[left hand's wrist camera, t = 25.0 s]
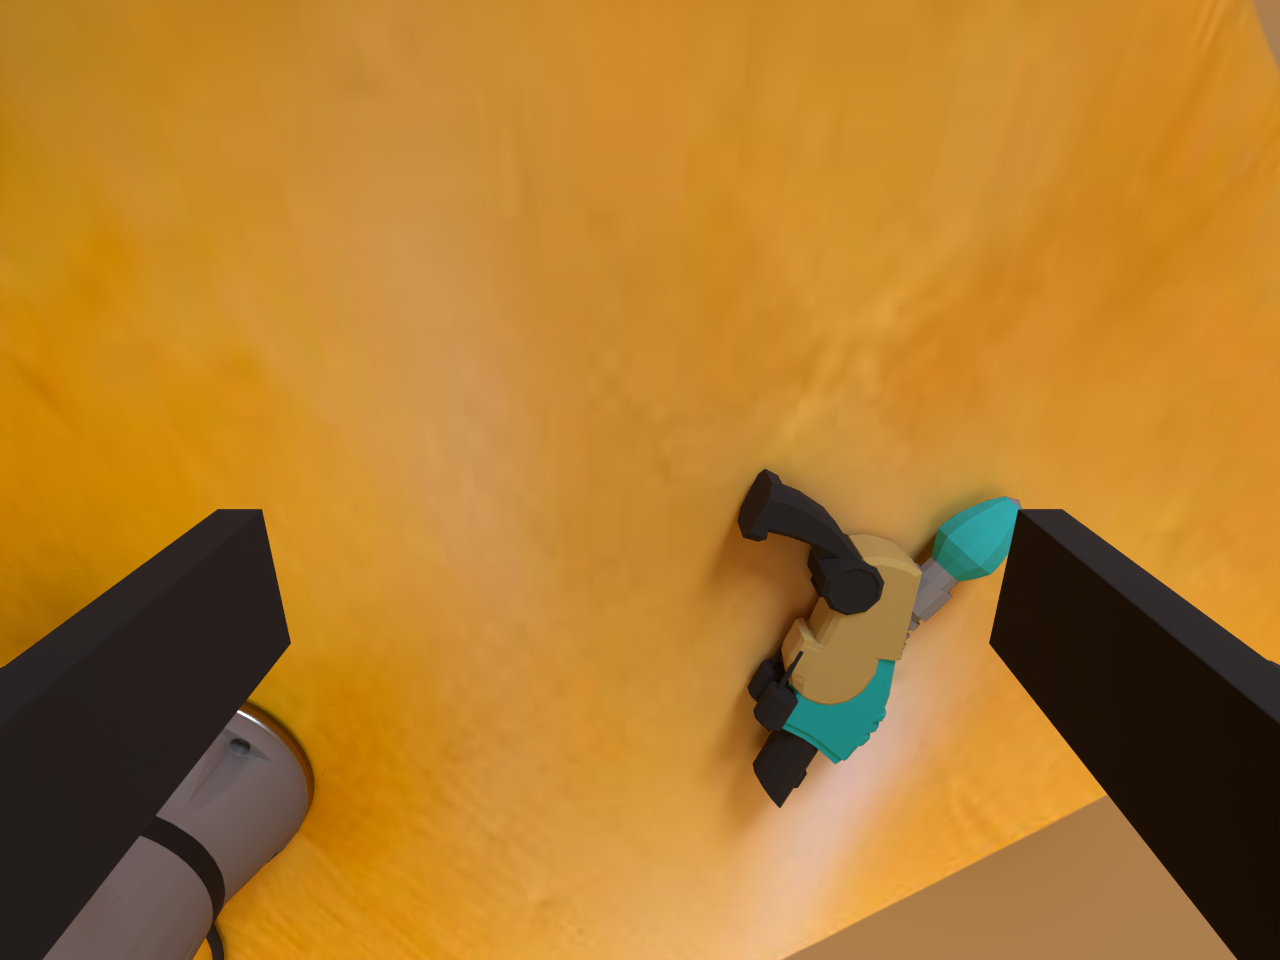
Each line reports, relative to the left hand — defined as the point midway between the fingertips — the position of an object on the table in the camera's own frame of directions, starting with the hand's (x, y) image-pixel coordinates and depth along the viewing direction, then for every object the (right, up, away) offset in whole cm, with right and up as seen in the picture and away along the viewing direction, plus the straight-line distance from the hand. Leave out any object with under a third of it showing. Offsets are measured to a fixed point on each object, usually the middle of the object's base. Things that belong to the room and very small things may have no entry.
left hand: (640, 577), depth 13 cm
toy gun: (+11, -7, +34) cm, 36 cm away
